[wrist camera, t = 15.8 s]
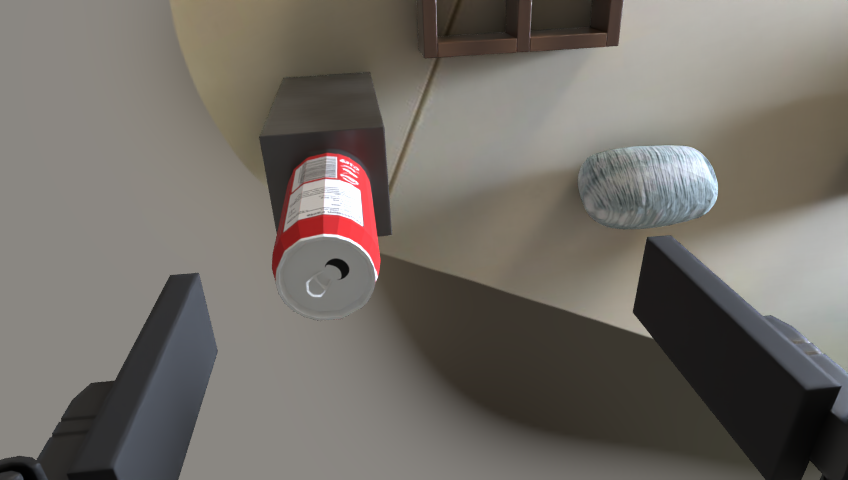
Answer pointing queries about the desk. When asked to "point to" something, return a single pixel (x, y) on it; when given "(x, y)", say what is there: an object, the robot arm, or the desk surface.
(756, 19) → the desk surface
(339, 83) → the block
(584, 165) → the yarn skein
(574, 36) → the can rack
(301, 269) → the soda can
